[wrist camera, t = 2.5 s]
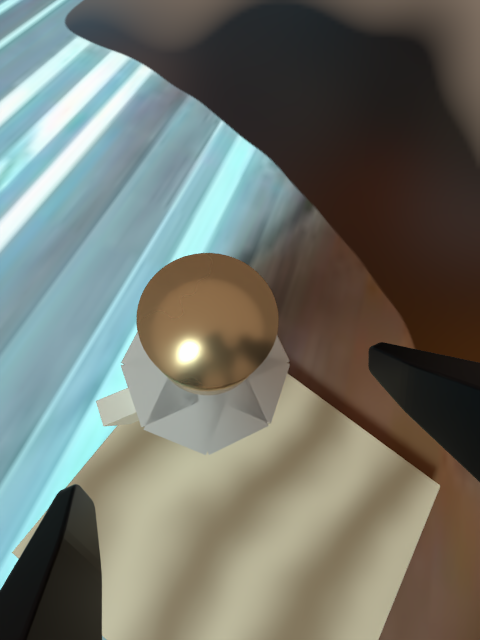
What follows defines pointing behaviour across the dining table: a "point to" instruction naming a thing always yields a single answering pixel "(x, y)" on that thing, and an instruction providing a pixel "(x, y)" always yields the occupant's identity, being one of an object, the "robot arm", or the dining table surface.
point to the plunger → (207, 322)
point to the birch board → (254, 529)
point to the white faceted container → (195, 403)
